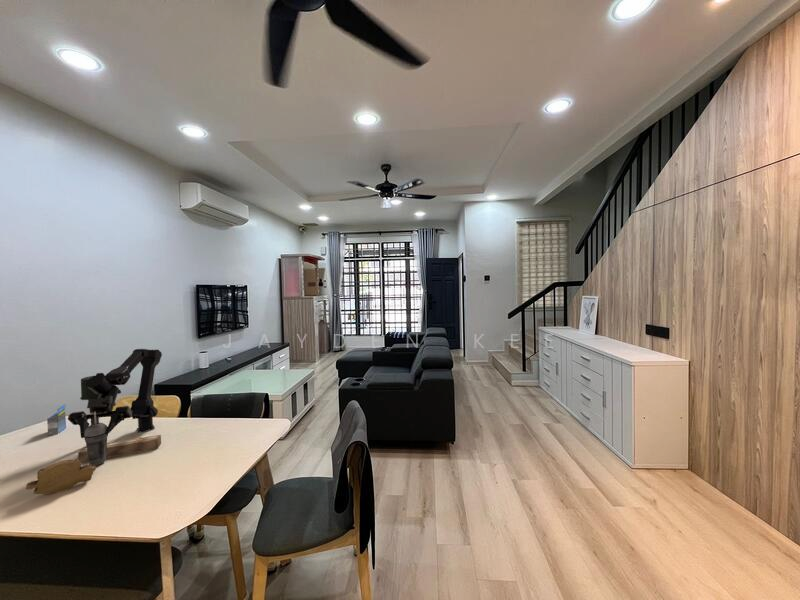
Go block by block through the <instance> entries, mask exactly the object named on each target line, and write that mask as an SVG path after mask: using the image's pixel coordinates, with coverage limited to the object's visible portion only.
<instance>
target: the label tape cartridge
mask: <svg viewBox="0 0 800 600" xmlns="http://www.w3.org/2000/svg"><path fill="white" fill-rule="evenodd" d="M66 417H67V416H66V403H64V404H62V405H61V406H60V407H58V408H56V412H55V413H54V414H52V415H51V416H49V417H48V418H47V419H46V421H47V436H48V435H49V436H54V435H53V434H55V435H58V433H59V434H60V433H61V432H62V431H64V430H65V429H66V428H67V419H66ZM63 429H64V430H63Z"/></svg>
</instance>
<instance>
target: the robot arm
mask: <svg viewBox="0 0 800 600" xmlns="http://www.w3.org/2000/svg"><path fill="white" fill-rule="evenodd" d="M162 356H163V354H162V351H160V349H147V348H136V349H133V350H132V353H131V354H130V355H129V356H128V357H127V358H126V359H125V360H124V361H123V362H122V364H120V366H118V367H116V368H113V369H111V370H110V371H109V372H107V373H106V374H104V372H97V373H95V375H92V376H93V377H91V378H90V379H89V380H87V382H86V386H87V387H88V388H89V389H91V390H92V391H93V392H94V393H96V394H99V397H98V399H90V400H87V405H86V409H89V408H90V410H89V412H90V411H91V412H93V414H90V413H87V414H86V412H84V411H83V410H81V411H75V412H71V413H70V414H68V417H67V420H68V421H69V422H70V424H72V425H74V426H79V431H80V432H79V433H80V438H81V439H84V433H85V430H86V429H87V428H88V427H89V426H90V422H88V420H91V419H93V418H94V412H95V411H96V418H99V419H101V418H108V417H110V420H109V422H108V426H107V430H106V435H108V436H109V434H110V433H111V432H112V430H114V428H116V426H118V425H119V424H120V423H121V422H122V421H125V419H130V418H132V420H135V419H136V420H137V426H138V427H137V428H136V431H137V433H139V434H140V433H142V432H148V431H151V429H152V430H156V428H155V426H154V422H153V418H154V417H157V415H158V411H159V410H158V408H156V407H155V406H154V400H153V398H152V396H151V395H152V389H153V383H154V376H155V370H156V366H158V365H159V364H160V362H161V358H162ZM139 364H141V367H142V372H141V377H140V384H139V389H138V395H137V397H136V399H135V400H132V401H131V406H128V405H123V406H117V407H116V405H117V404H116V400H117V397H118V394H122V391H121V389H120V388H119V387H118V386H124V385H126V384H127V383H128V382H129V380H130V378H131V372H133V370H134V369H135V368H136V367H137V366H138V365H139ZM114 407H116V408H115V410H113V409H114Z"/></svg>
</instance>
